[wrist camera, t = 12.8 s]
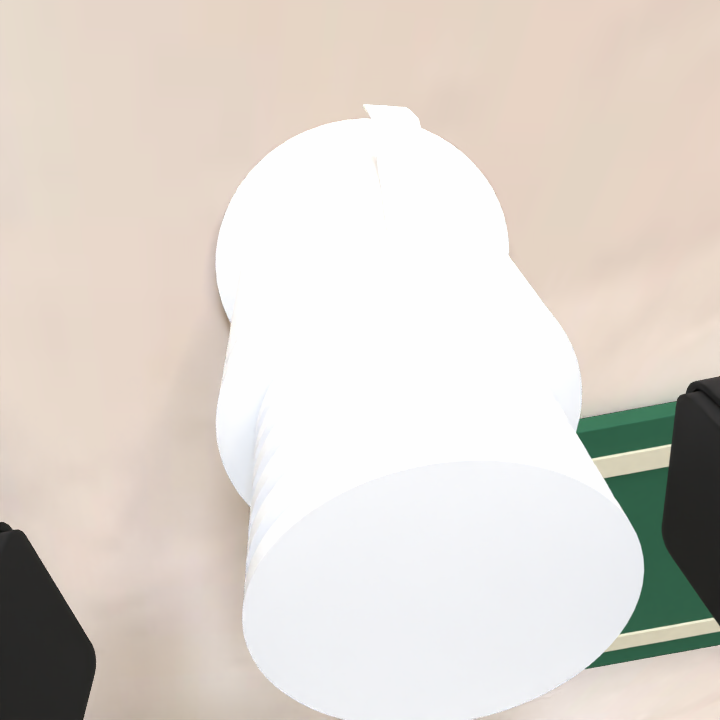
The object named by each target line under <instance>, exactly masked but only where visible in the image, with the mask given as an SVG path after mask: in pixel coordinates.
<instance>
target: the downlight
mask: <svg viewBox="0 0 720 720" xmlns="http://www.w3.org/2000/svg"><path fill="white" fill-rule="evenodd" d="M363 107H364V109H365V110H366V112H367V113H368V115H369V116H370V118H371V119H354V120H344V121H339V122H334V123H329V124H326V125H323V126H319V127H316V128H313V129H311V130H308V131H306V132H304V133H301V134H299V135H297V136H295V137H294V138H292V139H290V140H288V141H286V142H285V143H283V144H282V145H280V146H279V147H277V148H276V149H274V150H273V151H272V152H270V153H269V154H268V155H267V156H266V157H265V158H263V159H262V160H261V161H260V162H259V163H258V164H257V165H256V166H255V167H254V168H253V169H252V170H251V171H250V173H249V174H248V175H247V176H246V178H245V179H244V180H243V182H242V183H241V184H240V186H239V187H238V189H237V191H236V192H235V194H234V196H233V197H232V199H231V201H230V204H229V206H228V208H227V210H226V213H225V215H224V218H223V221H222V224H221V228H220V232H219V236H218V241H217V249H216V277H217V284H218V289H219V294H220V298H221V301H222V304H223V307H224V309H225V312H226V314H227V316H228V319H229V320H230V322H231V328H230V334H229V340H228V346H227V352H226V358H225V364H224V370H223V376H222V382H221V387H220V393H219V398H218V405H217V412H216V434H217V444H218V448H219V452H220V456H221V459H222V462H223V465H224V468H225V470H226V472H227V474H228V476H229V478H230V480H231V482H232V484H233V485H234V487H235V488H236V490H237V491H238V493H239V494H240V496H241V497H242V498H243V499H244V500H245V502H246V503H247V504H248V505H249V506H250V507H251V508H250V518H249V532H248V545H247V558H246V574H245V585H244V598H243V614H242V624H243V633H244V637H245V641H246V645H247V647H248V650H249V652H250V654H251V657H252V658H253V660H254V662H255V663H256V665H257V666H258V668H259V669H260V670H261V672H262V673H263V674H264V675H265V677H266V678H267V679H268V680H269V681H270V682H271V683H272V684H274V685H275V686H276V687H277V688H278V689H279V690H281V691H282V692H283V693H285V694H286V695H287V696H289V697H291V698H292V699H294V700H296V701H297V702H299V703H301V704H303V705H305V706H307V707H309V708H311V709H313V710H316V711H319V712H321V713H324V714H326V715H330V716H333V717H336V718H339V719H344V720H472V719H476V718H480V717H485V716H488V715H492V714H495V713H498V712H502V711H505V710H508V709H510V708H513V707H516V706H519V705H521V704H523V703H526V702H528V701H531V700H533V699H535V698H537V697H539V696H541V695H543V694H545V693H547V692H549V691H551V690H553V689H555V688H556V687H558V686H560V685H562V684H563V683H565V682H566V681H568V680H570V679H571V678H573V677H574V676H576V675H577V674H578V673H580V672H581V671H582V670H584V669H585V668H586V667H588V666H589V665H590V664H591V663H592V662H594V661H595V660H596V659H597V658H598V657H599V656H600V655H601V654H602V653H603V652H604V651H605V650H606V649H607V648H608V647H609V646H610V645H611V644H612V643H613V642H614V640H615V639H616V638H617V637H618V636H619V634H620V633H621V632H622V630H623V629H624V627H625V626H626V624H627V623H628V621H629V619H630V617H631V615H632V613H633V612H634V610H635V607H636V605H637V602H638V599H639V597H640V593H641V589H642V585H643V576H644V559H643V554H642V549H641V545H640V542H639V539H638V537H637V534H636V532H635V530H634V528H633V527H632V525H631V523H630V521H629V520H628V518H627V516H626V515H625V513H624V511H623V510H622V508H621V506H620V505H619V503H618V502H617V500H616V499H615V498H614V496H613V494H612V492H611V490H610V489H609V487H608V485H607V483H606V482H605V480H604V478H603V477H602V475H601V473H600V472H599V470H598V468H597V467H596V465H595V464H594V463H593V461H592V459H591V457H590V455H589V454H588V452H587V450H586V449H585V447H584V445H583V444H582V442H581V440H580V439H579V437H578V435H577V434H576V430H577V426H578V422H579V418H580V412H581V405H582V384H581V374H580V370H579V365H578V361H577V358H576V355H575V353H574V350H573V347H572V345H571V343H570V341H569V339H568V337H567V335H566V333H565V332H564V330H563V329H562V327H561V326H560V325H559V323H558V322H557V320H556V319H555V318H554V316H553V315H552V314H551V312H550V311H549V310H548V309H547V307H546V306H545V305H544V303H543V302H542V301H541V299H540V298H539V297H538V295H537V294H536V292H535V291H534V290H533V288H532V287H531V286H530V284H529V283H528V282H527V280H526V279H525V278H524V276H523V275H522V274H521V272H520V271H519V270H518V268H517V267H516V266H515V264H514V263H513V261H512V260H511V259H510V257H509V240H508V233H507V226H506V222H505V219H504V215H503V212H502V209H501V206H500V204H499V201H498V199H497V197H496V195H495V193H494V191H493V189H492V187H491V186H490V184H489V183H488V181H487V180H486V178H485V177H484V175H483V174H482V173H481V172H480V171H479V169H478V168H477V167H476V166H475V165H474V164H473V162H471V161H470V160H469V159H468V158H467V157H466V156H465V155H464V154H463V153H462V152H461V151H459V150H458V149H457V148H455V147H454V146H453V145H452V144H450V143H449V142H447V141H445V140H444V139H442V138H440V137H439V136H437V135H435V134H433V133H430V132H428V131H426V130H424V129H421V127H420V123H419V119H418V118H417V117H416V116H415V115H414V114H413V113H412V112H411V111H410V110H409V109H408V108H407V107H394V106H380V105H365V104H364V105H363Z"/></svg>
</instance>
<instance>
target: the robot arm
mask: <svg viewBox="0 0 720 720" xmlns="http://www.w3.org/2000/svg"><path fill="white" fill-rule="evenodd" d="M662 537H663V541H664V544H665V546H666V548H667V550H668V552H669V554H670V555H671V557H672V558H673V560H674V561H675V563H676V564H677V566H678V567H679V568H680V570H681V571H682V573H683V574H684V576H685V577H686V579H687V580H688V581H689V583H690V584H691V586H692V587H693V589H694V590H695V591H696V593H697V594H698V596H699V597H700V599H701V600H702V602H703V603H704V604H705V606H706V607H707V609H708V610H709V612H710V613H711V615H712V616H713V617H714V619H715V620H716V622H717V623H718V625H719V626H720V376H719V377H714V378H709V379H704V380H699V381H695V382H692V383H690V385H689V386H688V388H687V391H686V394H683V395H680V396H679V397H678V399H677V403H676V409H675V418H674V426H673V435H672V443H671V452H670V460H669V468H668V477H667V485H666V494H665V502H664V511H663V519H662ZM95 669H96V656H95V651H94V648H93V645H92V643H91V642H90V640H89V639H88V637H87V635H86V634H85V632H84V630H83V629H82V627H81V625H80V624H79V622H78V620H77V619H76V617H75V616H74V614H73V612H72V611H71V609H70V607H69V606H68V604H67V602H66V601H65V599H64V597H63V596H62V594H61V593H60V591H59V589H58V588H57V586H56V584H55V583H54V581H53V579H52V578H51V576H50V574H49V573H48V571H47V570H46V568H45V566H44V565H43V563H42V561H41V560H40V558H39V556H38V555H37V553H36V551H35V550H34V548H33V547H32V545H31V543H30V542H29V540H28V538H27V537H26V535H25V534H24V533H23V532H22V531H20V530H13V529H12V528H11V527H10V526H9V525H8V524H6V523H4V522H0V720H83V718H84V714H85V710H86V706H87V702H88V698H89V695H90V691H91V687H92V683H93V679H94V675H95Z"/></svg>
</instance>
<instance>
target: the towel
mask: <svg viewBox="0 0 720 720" xmlns="http://www.w3.org/2000/svg"><path fill="white" fill-rule="evenodd" d="M676 403H677V401H675V402H670V403H664V404H659V405H654V406H648V407H643V408H637V409H632V410H626V411H621V412H615V413H610V414H604V415H599V416H593V417H588V418H582V419H579V422H578V426H577V430H576V434H577V435H578V437H579V439H580V440H581V442H582V444H583V445H584V447H585V449H586V450H587V452H588V454H589V455H590V457H591V459H592V461H593V463H594V464H595V465H596V467H597V468H598V470H599V472H600V473H601V475H602V477H603V478H604V480H605V482H606V483H607V485H608V487H609V489H610V490H611V492H612V494H613V496H614V498H615V499H616V500H617V502H618V503H619V505H620V506H621V508H622V510H623V511H624V513H625V515H626V516H627V518H628V520H629V521H630V523H631V525H632V527H633V528H634V530H635V532H636V534H637V537H638V539H639V542H640V545H641V549H642V554H643V559H644V576H643V585H642V589H641V593H640V597H639V599H638V602H637V605H636V607H635V610H634V612H633V613H632V615H631V617H630V619H629V621H628V623H627V624H626V626H625V627H624V629H623V630H622V632H621V633H620V634H619V636H618V637H617V638H616V639H615V640H614V642H613V643H612V644H611V645H610V646H609V647H608V648H607V649H606V650H605V651H604V652H603V653H602V654H601V655H600V656H599V657H598V658H597V659H596V660H595V661H594V662H592V663H591V664H590V665H589V666H588V667H586V668H585V669H588V668H594V667H600V666H605V665H611V664H616V663H622V662H628V661H633V660H639V659H644V658H650V657H655V656H661V655H667V654H672V653H678V652H683V651H689V650H694V649H700V648H706V647H711V646H717V645H720V626H719V625H718V623H717V622H716V620H715V619H714V617H713V616H712V615H711V613H710V612H709V610H708V609H707V607H706V606H705V604H704V603H703V602H702V600H701V599H700V597H699V596H698V594H697V593H696V591H695V590H694V589H693V587H692V586H691V584H690V583H689V581H688V580H687V579H686V577H685V576H684V574H683V573H682V571H681V570H680V568H679V567H678V566H677V564H676V563H675V561H674V560H673V558H672V557H671V555H670V554H669V552H668V550H667V548H666V546H665V544H664V541H663V537H662V519H663V511H664V502H665V494H666V485H667V477H668V468H669V460H670V452H671V443H672V435H673V426H674V418H675V409H676Z"/></svg>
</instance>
